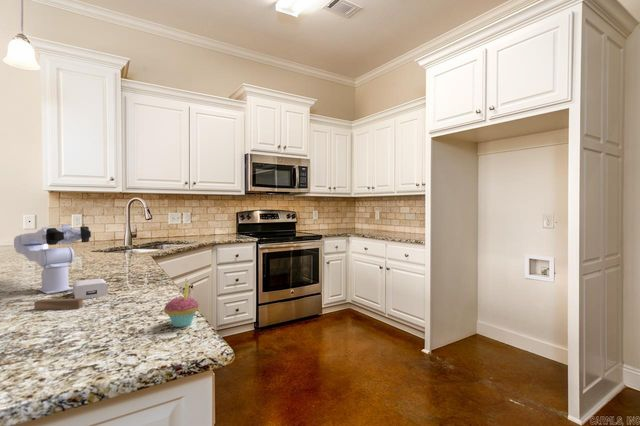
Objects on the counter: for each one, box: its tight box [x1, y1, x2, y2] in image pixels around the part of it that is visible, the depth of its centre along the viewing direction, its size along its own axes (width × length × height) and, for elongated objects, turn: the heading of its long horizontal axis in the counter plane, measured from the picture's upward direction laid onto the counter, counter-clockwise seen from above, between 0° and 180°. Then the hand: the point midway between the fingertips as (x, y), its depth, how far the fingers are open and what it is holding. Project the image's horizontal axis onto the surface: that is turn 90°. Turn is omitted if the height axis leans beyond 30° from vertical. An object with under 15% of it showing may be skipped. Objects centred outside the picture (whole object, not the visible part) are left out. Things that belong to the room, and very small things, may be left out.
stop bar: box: [33, 297, 84, 311], centre depth 103 cm, size 2×12×2 cm, turn 99°
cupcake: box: [163, 280, 200, 328], centre depth 90 cm, size 9×8×12 cm
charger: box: [72, 278, 108, 300], centre depth 120 cm, size 5×9×15 cm
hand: (76, 235), depth 112 cm, fingers open, 7 cm apart
